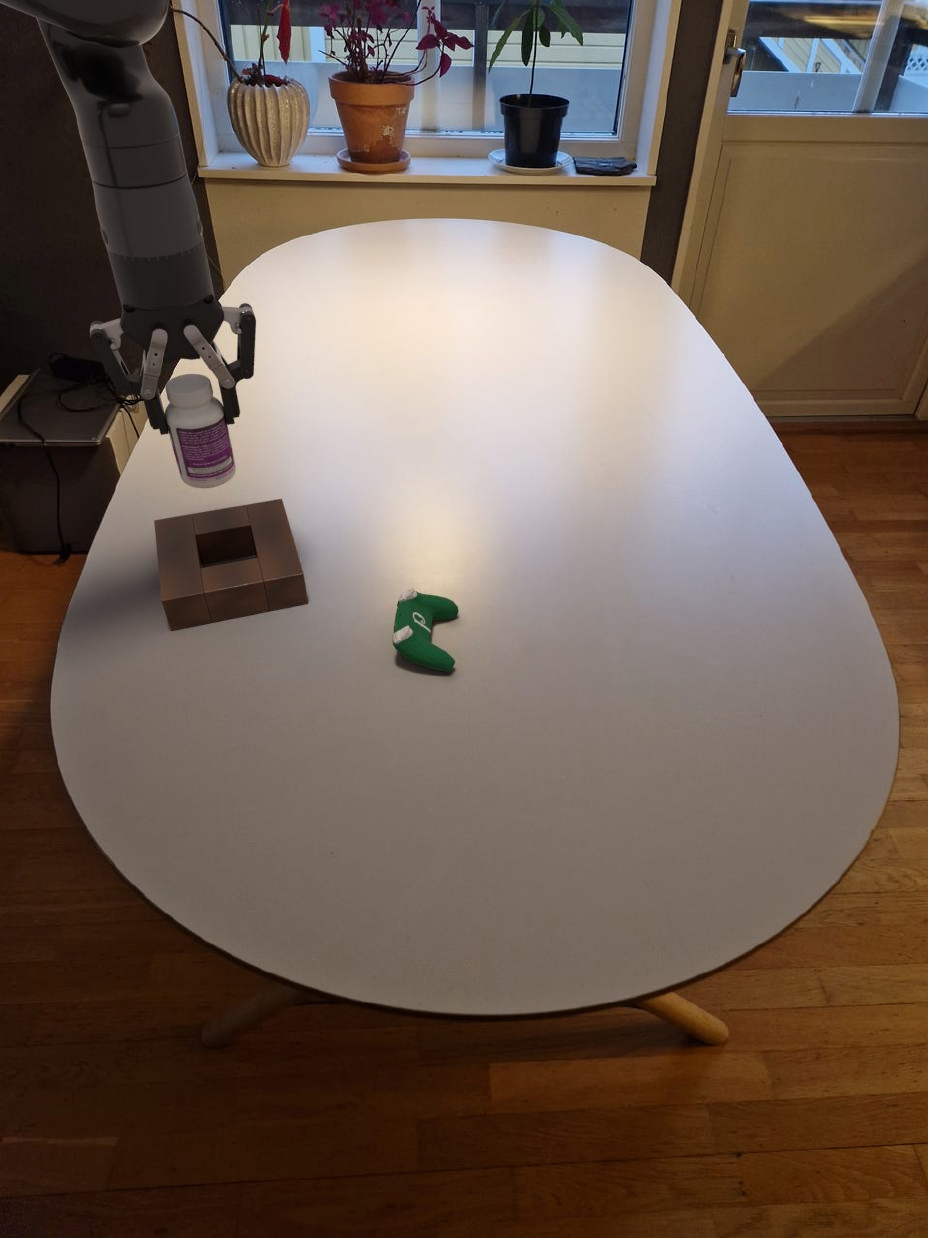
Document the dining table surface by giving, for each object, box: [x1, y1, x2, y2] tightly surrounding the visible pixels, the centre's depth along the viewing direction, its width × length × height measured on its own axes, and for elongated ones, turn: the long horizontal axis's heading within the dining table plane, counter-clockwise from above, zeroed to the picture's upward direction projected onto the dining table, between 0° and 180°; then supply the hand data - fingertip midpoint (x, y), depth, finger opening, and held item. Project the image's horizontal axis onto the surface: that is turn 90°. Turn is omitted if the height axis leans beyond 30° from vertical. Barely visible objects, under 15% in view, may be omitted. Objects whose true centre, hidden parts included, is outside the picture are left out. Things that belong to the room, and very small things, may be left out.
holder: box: [153, 498, 309, 631], centre depth 91 cm, size 14×14×4 cm
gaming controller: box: [391, 587, 460, 673], centre depth 84 cm, size 9×4×6 cm
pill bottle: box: [164, 373, 237, 489], centre depth 80 cm, size 5×5×10 cm
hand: (197, 424), depth 80 cm, fingers closed on pill bottle, 5 cm apart
